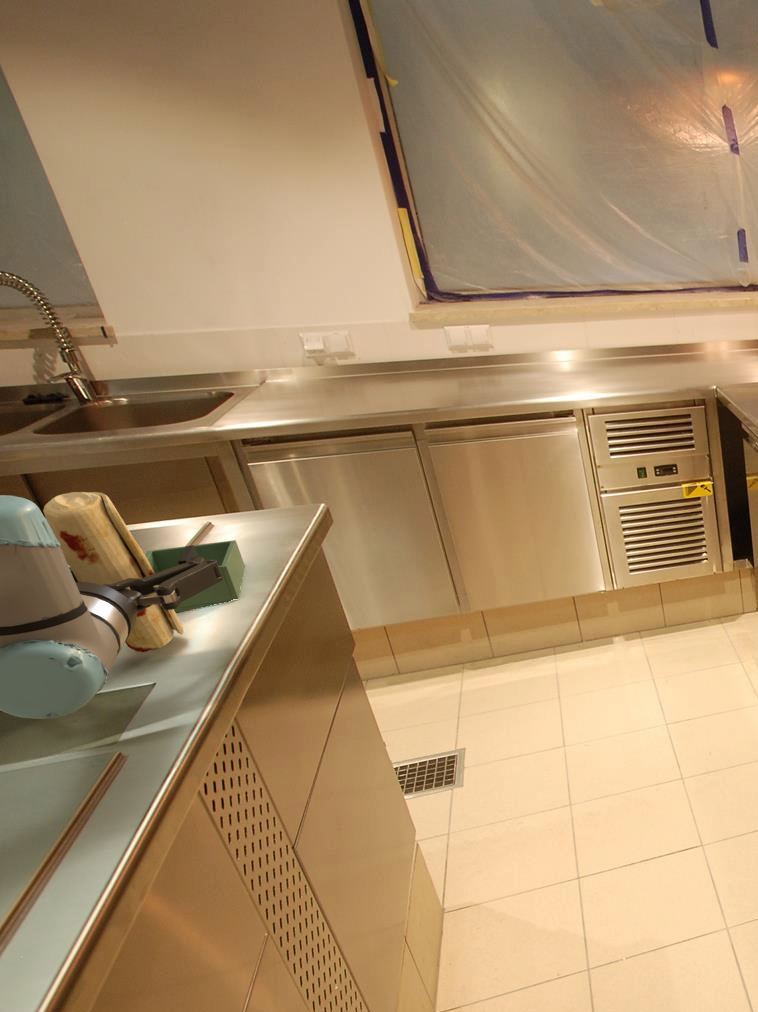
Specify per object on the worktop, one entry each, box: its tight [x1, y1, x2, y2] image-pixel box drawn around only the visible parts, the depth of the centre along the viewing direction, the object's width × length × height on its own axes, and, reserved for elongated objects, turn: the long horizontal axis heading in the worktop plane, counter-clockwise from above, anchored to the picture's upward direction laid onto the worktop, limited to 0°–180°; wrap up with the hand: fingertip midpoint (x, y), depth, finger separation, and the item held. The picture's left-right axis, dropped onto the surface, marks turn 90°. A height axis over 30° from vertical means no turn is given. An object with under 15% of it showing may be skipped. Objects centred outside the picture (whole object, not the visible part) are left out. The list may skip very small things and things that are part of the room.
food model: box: [42, 491, 185, 653], centre depth 102 cm, size 10×7×20 cm
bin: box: [144, 540, 246, 614], centre depth 121 cm, size 10×13×6 cm
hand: (121, 564), depth 102 cm, fingers open, 13 cm apart
